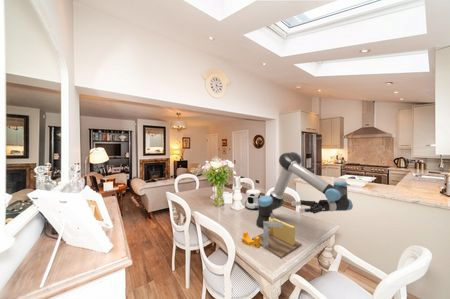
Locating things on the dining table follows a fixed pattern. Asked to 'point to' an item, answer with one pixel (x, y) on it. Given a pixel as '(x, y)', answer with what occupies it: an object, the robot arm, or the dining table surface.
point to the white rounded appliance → (252, 198)
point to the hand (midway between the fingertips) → (295, 206)
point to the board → (278, 245)
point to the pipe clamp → (250, 240)
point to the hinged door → (282, 231)
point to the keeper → (265, 230)
